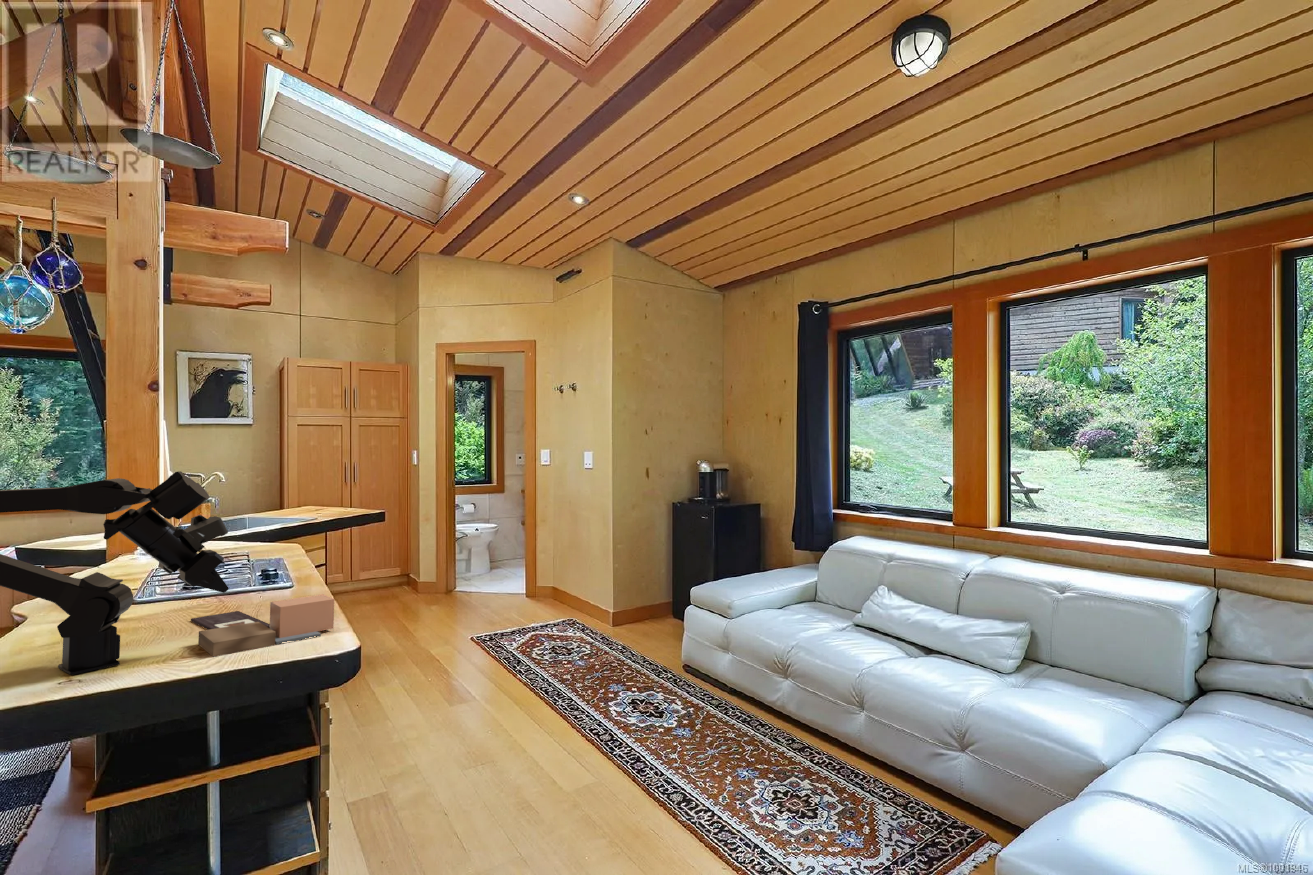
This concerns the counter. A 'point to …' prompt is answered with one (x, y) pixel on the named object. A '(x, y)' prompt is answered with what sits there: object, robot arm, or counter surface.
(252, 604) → the counter surface
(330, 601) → the block
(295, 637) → the mat
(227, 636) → the board
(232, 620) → the chocolate bar
